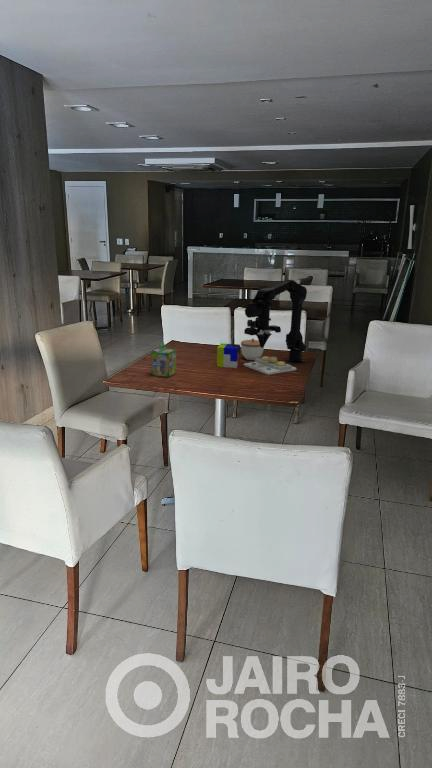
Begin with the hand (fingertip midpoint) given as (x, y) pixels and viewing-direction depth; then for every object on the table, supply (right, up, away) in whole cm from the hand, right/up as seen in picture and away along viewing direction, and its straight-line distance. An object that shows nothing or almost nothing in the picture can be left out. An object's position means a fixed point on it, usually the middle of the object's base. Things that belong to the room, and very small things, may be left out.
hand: (262, 347), depth 245 cm
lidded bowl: (-3, -4, +24) cm, 25 cm away
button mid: (+6, -7, +6) cm, 11 cm away
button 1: (+3, -7, +12) cm, 14 cm away
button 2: (+9, -10, +2) cm, 14 cm away
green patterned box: (-47, -14, -9) cm, 50 cm away
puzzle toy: (-16, -8, +10) cm, 21 cm away
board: (+4, -10, +6) cm, 12 cm away
